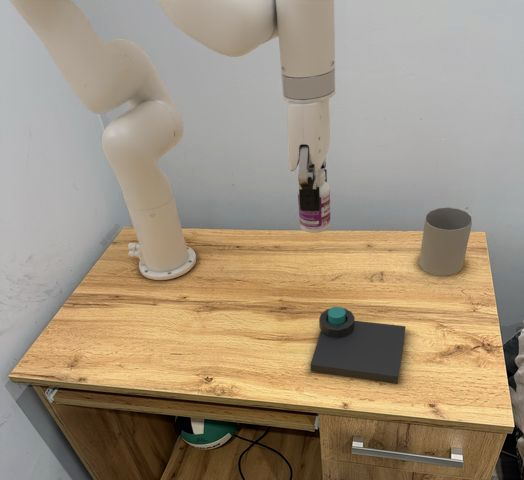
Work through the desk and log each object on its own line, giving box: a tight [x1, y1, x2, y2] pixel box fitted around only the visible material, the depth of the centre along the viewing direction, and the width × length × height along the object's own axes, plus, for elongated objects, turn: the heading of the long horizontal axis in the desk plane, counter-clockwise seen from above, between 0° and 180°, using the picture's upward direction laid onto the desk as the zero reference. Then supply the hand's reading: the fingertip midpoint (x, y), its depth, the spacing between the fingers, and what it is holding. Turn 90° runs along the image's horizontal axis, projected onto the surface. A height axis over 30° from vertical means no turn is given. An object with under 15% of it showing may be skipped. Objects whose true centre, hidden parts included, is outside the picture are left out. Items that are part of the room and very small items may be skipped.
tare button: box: [328, 306, 346, 325], centre depth 86 cm, size 3×3×2 cm
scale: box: [309, 307, 407, 384], centre depth 84 cm, size 14×13×4 cm
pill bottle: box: [297, 168, 331, 234], centre depth 84 cm, size 5×5×10 cm
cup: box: [418, 207, 473, 277], centre depth 96 cm, size 8×8×10 cm
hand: (313, 200), depth 84 cm, fingers closed on pill bottle, 5 cm apart
